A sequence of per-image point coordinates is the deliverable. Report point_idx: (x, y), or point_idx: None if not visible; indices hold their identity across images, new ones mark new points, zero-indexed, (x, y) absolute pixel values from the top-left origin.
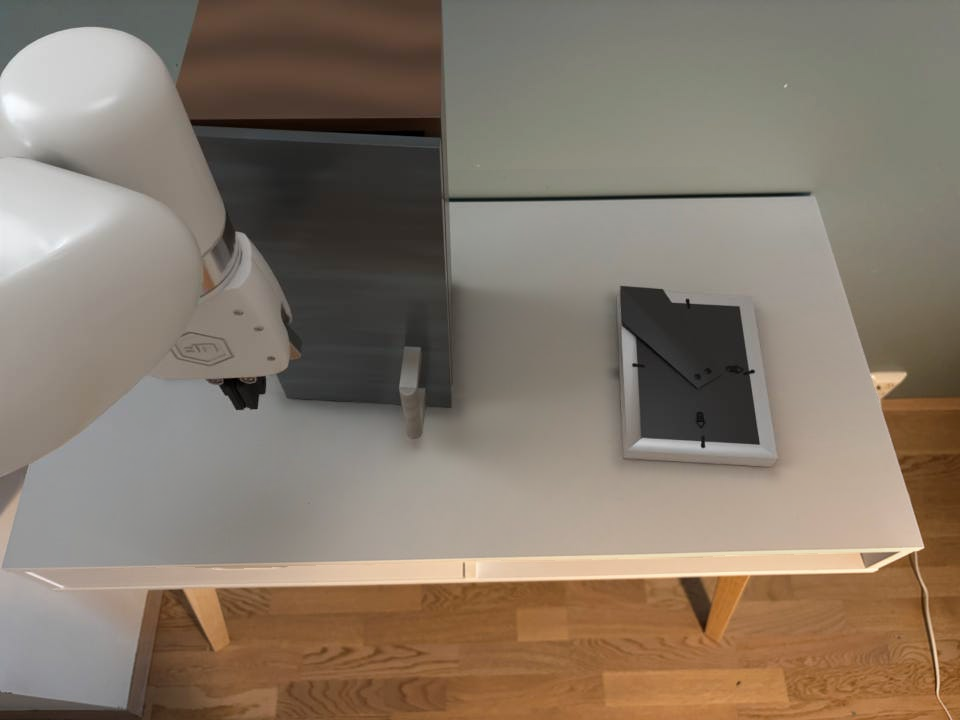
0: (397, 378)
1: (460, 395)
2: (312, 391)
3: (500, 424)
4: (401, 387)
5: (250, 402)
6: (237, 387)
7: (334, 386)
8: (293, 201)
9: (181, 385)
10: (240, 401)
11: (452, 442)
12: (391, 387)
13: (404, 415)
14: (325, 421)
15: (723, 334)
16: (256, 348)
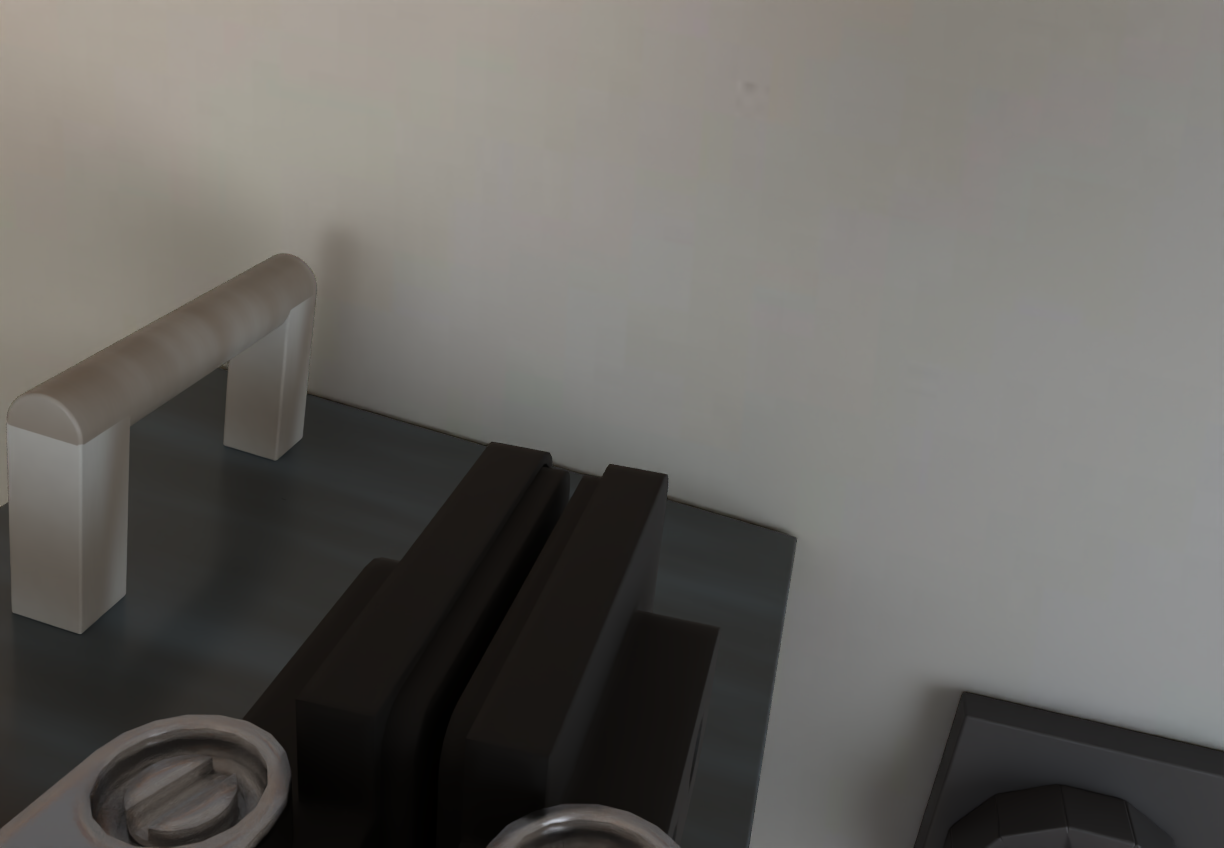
0: (287, 505)
1: None
2: (677, 537)
3: (55, 266)
4: (71, 441)
5: (465, 508)
6: (413, 706)
7: None
8: None
9: (1208, 683)
10: (557, 540)
11: (211, 232)
12: (351, 478)
13: (212, 333)
14: (661, 413)
15: None
16: None
